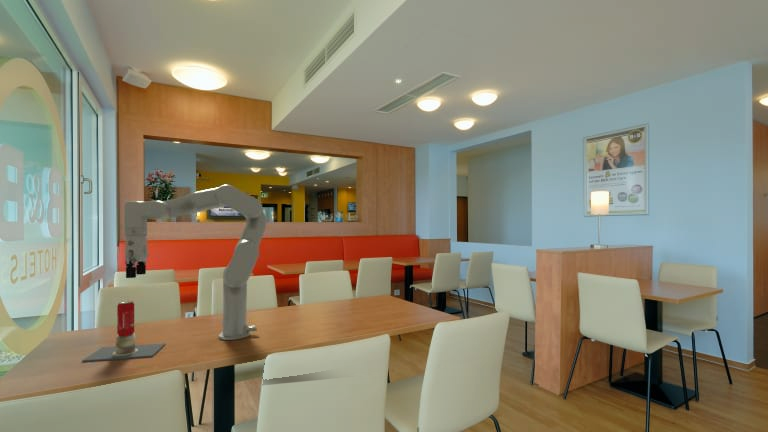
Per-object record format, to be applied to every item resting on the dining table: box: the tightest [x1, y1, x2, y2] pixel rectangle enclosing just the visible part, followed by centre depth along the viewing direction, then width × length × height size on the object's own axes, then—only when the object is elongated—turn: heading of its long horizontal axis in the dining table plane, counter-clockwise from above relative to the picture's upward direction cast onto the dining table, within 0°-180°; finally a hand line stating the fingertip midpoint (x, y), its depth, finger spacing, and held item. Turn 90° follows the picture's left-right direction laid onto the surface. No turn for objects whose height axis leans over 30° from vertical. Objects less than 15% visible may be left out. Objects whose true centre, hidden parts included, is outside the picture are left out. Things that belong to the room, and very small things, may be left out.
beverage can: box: [116, 301, 135, 337], centre depth 138 cm, size 5×5×12 cm
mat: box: [81, 342, 166, 363], centre depth 138 cm, size 22×14×1 cm, turn 104°
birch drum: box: [115, 333, 136, 355], centre depth 137 cm, size 6×6×6 cm
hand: (136, 276), depth 145 cm, fingers open, 9 cm apart
